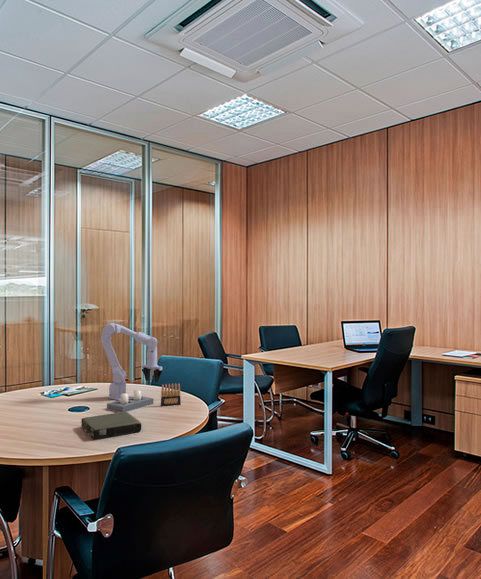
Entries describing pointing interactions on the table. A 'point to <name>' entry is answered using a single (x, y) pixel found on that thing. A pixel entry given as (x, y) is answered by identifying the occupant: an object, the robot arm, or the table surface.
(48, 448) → the table surface
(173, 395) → the ammunition clip
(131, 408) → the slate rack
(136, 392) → the white rounded egg shape
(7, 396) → the table surface
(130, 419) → the network switch
